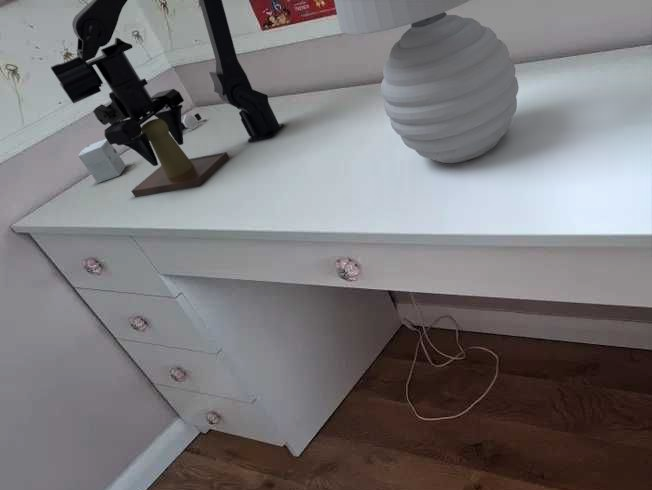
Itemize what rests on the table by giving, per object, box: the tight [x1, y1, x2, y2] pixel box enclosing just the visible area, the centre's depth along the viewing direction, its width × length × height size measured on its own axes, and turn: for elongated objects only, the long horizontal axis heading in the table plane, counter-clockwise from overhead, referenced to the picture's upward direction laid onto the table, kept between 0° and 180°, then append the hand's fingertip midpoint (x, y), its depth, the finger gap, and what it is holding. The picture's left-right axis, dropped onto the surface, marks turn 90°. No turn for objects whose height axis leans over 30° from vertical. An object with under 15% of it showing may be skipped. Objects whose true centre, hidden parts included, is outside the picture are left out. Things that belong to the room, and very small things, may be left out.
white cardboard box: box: [77, 138, 127, 184], centre depth 154 cm, size 6×6×7 cm
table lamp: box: [333, 0, 520, 164], centre depth 95 cm, size 25×25×40 cm
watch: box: [181, 112, 203, 132], centre depth 167 cm, size 8×5×4 cm, turn 143°
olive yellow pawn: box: [141, 118, 193, 178], centre depth 135 cm, size 6×6×11 cm
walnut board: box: [131, 151, 231, 198], centre depth 139 cm, size 18×12×2 cm, turn 74°
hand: (169, 154), depth 136 cm, fingers open, 9 cm apart
